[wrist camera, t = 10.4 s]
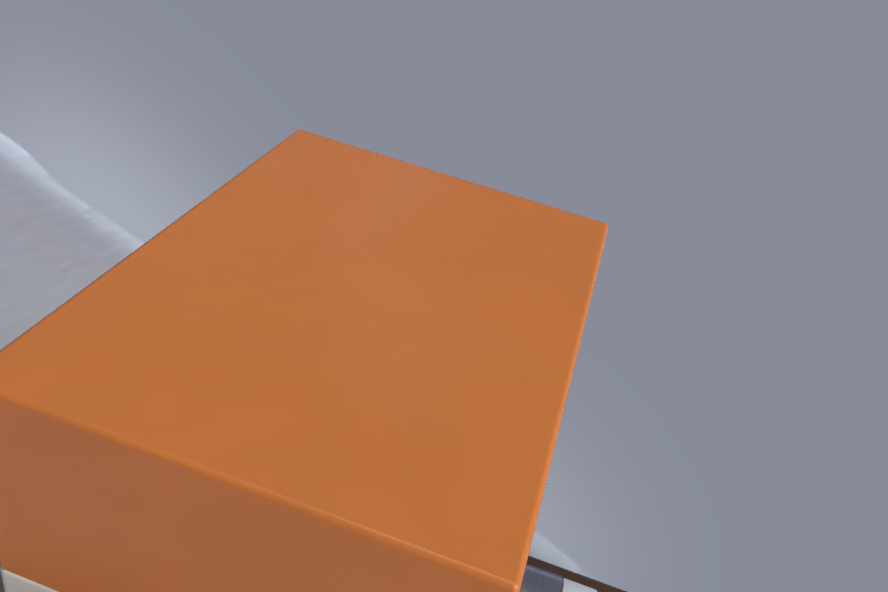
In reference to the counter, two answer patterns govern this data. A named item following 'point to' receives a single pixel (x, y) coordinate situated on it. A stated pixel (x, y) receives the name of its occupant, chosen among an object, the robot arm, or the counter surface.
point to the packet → (301, 389)
